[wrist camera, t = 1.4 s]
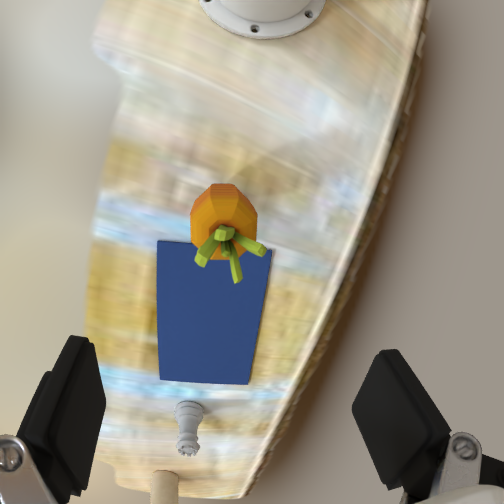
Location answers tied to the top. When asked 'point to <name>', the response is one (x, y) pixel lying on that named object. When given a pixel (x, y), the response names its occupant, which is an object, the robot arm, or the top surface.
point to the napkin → (207, 315)
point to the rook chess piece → (188, 426)
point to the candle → (164, 488)
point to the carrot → (224, 227)
